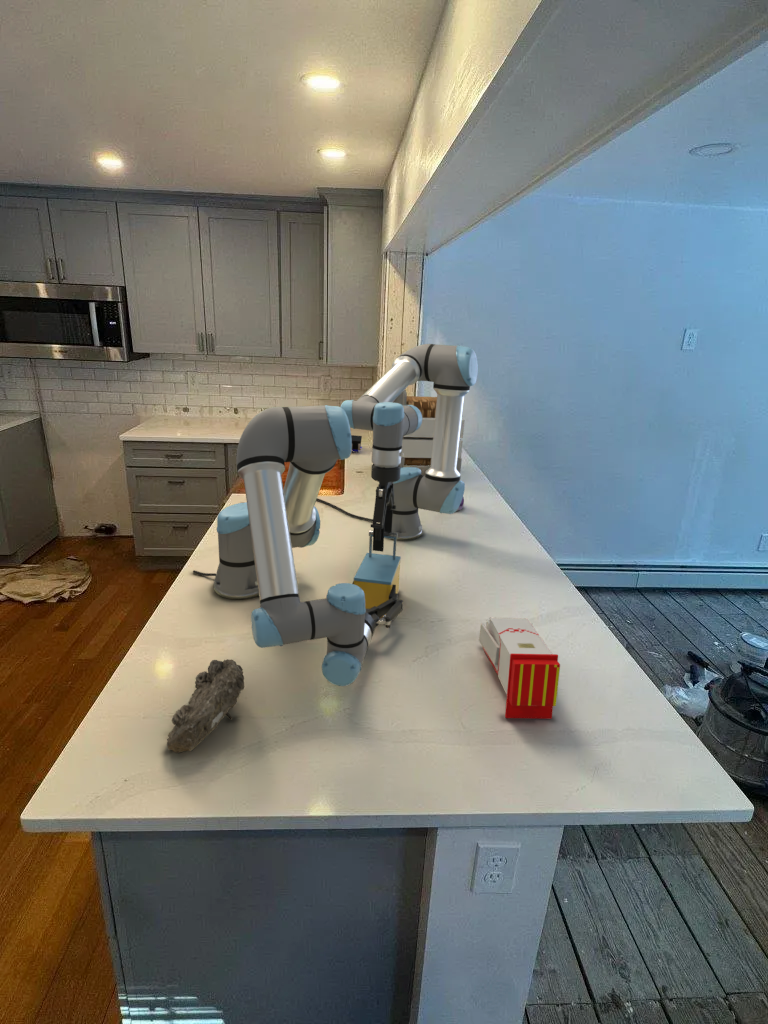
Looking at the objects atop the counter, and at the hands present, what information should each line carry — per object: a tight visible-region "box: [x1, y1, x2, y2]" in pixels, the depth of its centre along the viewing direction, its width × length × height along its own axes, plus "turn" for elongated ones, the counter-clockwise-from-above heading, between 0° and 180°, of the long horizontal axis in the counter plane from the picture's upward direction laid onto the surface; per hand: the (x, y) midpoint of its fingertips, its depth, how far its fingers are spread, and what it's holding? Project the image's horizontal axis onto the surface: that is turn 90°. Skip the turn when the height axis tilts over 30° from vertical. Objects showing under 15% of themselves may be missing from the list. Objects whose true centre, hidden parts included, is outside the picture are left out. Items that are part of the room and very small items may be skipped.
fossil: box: [166, 658, 245, 754], centre depth 106 cm, size 22×10×15 cm
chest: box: [353, 561, 401, 619], centre depth 151 cm, size 16×10×10 cm, turn 170°
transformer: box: [393, 389, 465, 475], centre depth 268 cm, size 34×33×41 cm
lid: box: [353, 529, 402, 585], centre depth 148 cm, size 16×10×8 cm, turn 170°
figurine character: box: [351, 434, 363, 454], centre depth 310 cm, size 7×8×15 cm
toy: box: [478, 616, 561, 720], centre depth 122 cm, size 12×13×30 cm
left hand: (374, 587), depth 146 cm, fingers closed on chest, 9 cm apart
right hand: (382, 540), depth 152 cm, fingers open, 13 cm apart
